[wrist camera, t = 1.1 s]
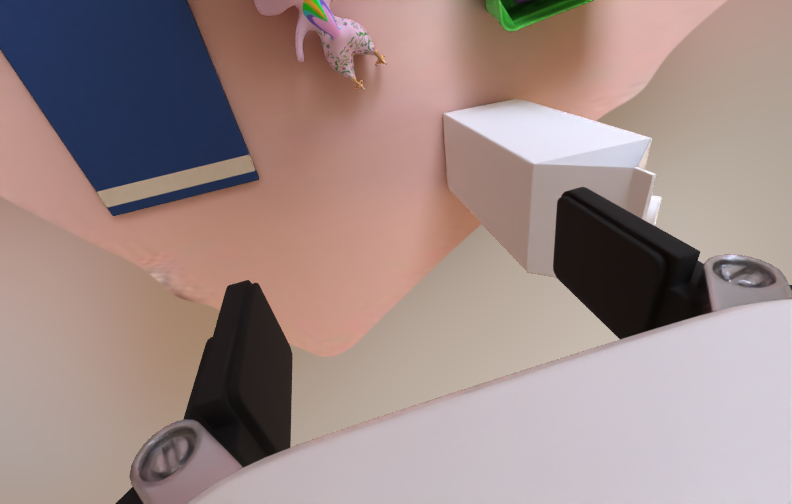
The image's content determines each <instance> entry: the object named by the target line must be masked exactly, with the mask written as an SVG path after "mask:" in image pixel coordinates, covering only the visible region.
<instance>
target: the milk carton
mask: <svg viewBox="0 0 792 504" xmlns="http://www.w3.org/2000/svg"><path fill="white" fill-rule="evenodd" d="M443 125H444V140H445V155H446V170H447V184H448V189H449V190H450V191H451V192H452V193H453V194H454V195H455V196H456V197H457V198H458V199H459V200H460V201H461V202H462V203H463V205H464V206H465V207H466V208H467V209H468V210H469V211H470V212H471V213H472V214H473V215H474V216H475V217H476V218H477V219H478V220H479V221H480V222H481V224H482V225H483V226H484V227H485V228H486V229H487V230H488V231H489V232H490V233H491V234H492V235H493V236H494V237H495V238H496V239H497V240H498V242H499V243H500V244H501V245H502V246H503V247H504V248H505V249H506V250H507V251H508V252H509V253H510V254H511V255H512V256H513V257H514V258H515V259H516V261H518V262H519V264H520V265H521V266H522V267H523V268H524V269H525V270H526V271H527V272H528V273H533V274H539V275H545V276H550V277H556V276H555V274H554V271H553V259H554V243H555V228H556V212H557V201H558V199H559V198H561V196H562V194H563V193H564V192H565V191H569V190H572V189H576V188H579V187H586V188H588V189H589V190H591V191H593V192H595V193H596V194H598V195H600V196H602V197H604V198H605V199H607V200H609V201H611V202H613V203H614V204H616V205H618V206H620V207H621V208H623V209H625V210H627V211H629V212H630V213H632V214H634V215H636V216H638V217H639V218H641V219H643V220H645V221H647V222H648V223H650V224H652V225H654V226H655V223H656V220H657V216H658V213H659V210H660V206H661V202H662V198H661V197H658V196H652V192H653V188H654V184H655V180H656V175H655V174H654V173H652V172H649V171H647V170H645V167H646V162H647V157H648V154H649V149H650V145H651V140H652V138H649V137H646V136H643V135H639V134H636V133H633V132H630V131H626V130H623V129H619V128H616V127H613V126H610V125H606V124H603V123H599V122H596V121H593V120H590V119H586V118H583V117H579V116H576V115H573V114H569V113H566V112H563V111H559V110H556V109H553V108H549V107H546V106H543V105H539V104H536V103H533V102H529V101H526V100H523V99H519V98H518V99H512V100H507V101H502V102H497V103H492V104H487V105H482V106H477V107H472V108H467V109H462V110H457V111H452V112H447V113H444V114H443ZM556 278H557V277H556Z"/></svg>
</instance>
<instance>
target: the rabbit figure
mask: <svg viewBox="0 0 792 504" xmlns="http://www.w3.org/2000/svg"><path fill="white" fill-rule="evenodd" d="M253 1H254V3H255V6H256V8H257V10H258V11H259V12H260V13H261V14H263V15H267V16H271V15H278V14H281V13H282V12H284V11H285V10H286V9H288V8H289V7H291V6H293V5H295V6H296V7H297V8H298V10H299V19H298V22H297V26H296V34H295V50H296V58H297V60H298V62H303V61H304V59H305V56H304V52H303V41H304V37H305V35H306V33H307V32H309V31H315V32H316V33H317V34H318V35H319V36H320V38H321V42H322V47H323V51H324V54H325V57H326V60H327V62H328V64H329V65H330V66H331V67H332V68H333V69H334V70H335V71H336V72H337V73H338V74H340V75H342V76H345V77H347V78H349V79H351V80H353V81H354V82H355V83H356V84H357V86H356V87H355V89H356V90H357V89H363V90H364V88H363V82H362V81H364V80H363V79H362V80H361V81H360V82H358V81H357V80H356V77H355V72H354V61H353V56H354V55H355V54H371V55H376V56H377V57H378V61H377V63H376V64H375V65H376V66H377V64H386V62H385V61H384V57H385V56H384V55H382V56H380V55H379V53H378V51H377V50H376V48H375V46H374V44H373V42H372V40H371V38H370V36H369V34H368V33H367V31H366V30H365V29H364V28H363V27H362V26H361V25H360V24H359V23H357V22H355V21H353V20H350V19H346V18H339V17H336V16H334V15H333V14H332V13H331V10H330V3H331V1H332V0H253ZM386 65H387V64H386Z"/></svg>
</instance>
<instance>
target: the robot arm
mask: <svg viewBox="0 0 792 504" xmlns="http://www.w3.org/2000/svg"><path fill="white" fill-rule="evenodd" d="M699 254H700V251H698V250H696V249H695V248H693V247H691V246H689V245H688V244H686V243H684V242H682V241H680V240H679V239H677V238H675V237H673V236H671V235H670V234H668V233H666V232H664V231H662V230H660V229H659V228H657V227H655V226H654V225H652V224H650V223H648V222H647V221H645V220H643V219H641V218H639V217H638V216H636V215H634V214H632V213H630V212H629V211H627V210H625V209H623V208H621V207H620V206H618V205H616V204H614V203H613V202H611V201H609V200H607V199H605V198H604V197H602V196H600V195H598V194H596V193H595V192H593V191H591V190H589V189H588V188H586V187H579V188H576V189H572V190H569V191H565V192H564V193H563V194H562V196H561V198H559V199H558V201H557V212H556V228H555V243H554V259H553V271H554V274H555V276H556V277H557V278H558V279H559V280H560V281H561V282H562V283H563V284H564V285H565V286H566V287H567V288H568V289H569V290H570V291H571V292H572V293H573V294H574V295H575V296H576V297H577V298H578V299H579V300H580V301H581V302H582V303H583V304H584V305H585V306H586V307H587V308H588V309H589V310H590V311H591V312H593V313H594V314H595V315H596V316H597V317H598V318H599V319H600V320H601V321H602V322H603V323H604V324H605V325H606V326H607V327H608V328H609V329H610V330H611V331H612V332H613V333H614V334H615V335H616V336H617V337H618V338H619V339H620V340H617V341H614V342H611V343H608V344H605V345H602V346H598V347H595V348H593V349H589V350H586V351H582V352H579V353H576V354H573V355H570V356H567V357H564V358H560V359H557V360H554V361H551V362H548V363H545V364H541V365H539V366H535V367H532V368H529V369H526V370H523V371H520V372H516V373H513V374H510V375H507V376H505V377H501V378H498V379H495V380H492V381H489V382H485V383H482V384H479V385H476V386H473V387H470V388H467V389H464V390H460V391H457V392H454V393H451V394H448V395H445V396H442V397H439V398H436V399H433V400H430V401H427V402H424V403H421V404H418V405H414V406H412V407H409V408H406V409H402V410H399V411H396V412H393V413H390V414H387V415H384V416H381V417H378V418H375V419H372V420H369V421H366V422H363V423H360V424H357V425H354V426H351V427H348V428H345V429H342V430H339V431H336V432H333V433H331V434H327V435H325V436H322V437H319V438H316V439H313V440H311V441H307V442H304V443H301V444H298V445H296V446H293V447H291V448H290V436H291V394H292V393H291V392H292V352H291V348H290V345H289V343H288V341H287V339H286V337H285V335H284V333H283V331H282V329H281V327H280V325H279V323H278V321H277V319H276V317H275V315H274V313H273V311H272V310H271V308H270V306H269V304H268V302H267V300H266V298H265V296H264V294H263V292H262V290H261V288H260V286H259V284H258V283H254V284H252V283H251V282H250V281H249V280H246V281H243V282H239V283H236V284H232V285H229V286H227V289H226V292H225V296H224V299H223V303H222V306H221V310H220V313H219V317H218V320H217V325H216V328H215V331H214V335H213V337H211V338H210V339H208V341H207V343H206V345H205V349H204V352H203V355H202V359H201V362H200V366H199V369H198V373H197V376H196V379H195V382H194V386H193V389H192V392H191V396H190V399H189V403H188V406H187V409H186V413H185V416H184V419H183V420H181V421H177V422H174V423H172V424H170V425H168V426H166V427H164V428H163V429H161V430H160V431H158V432H157V433H156V434H154V435H153V436H152V437H151V438H150V439H149V440H148V441H147V442H146V443H145V444H144V445H143V447H142V448H141V450H140V451H139V452H138V454H137V455H136V457H135V459H134V461H133V463H132V466H131V471H130V480H131V484H132V486H133V487H132V488H131V489H130V490H129V491H128V492H127V493H126V494H125V495H124V496H123V497H122V498H121V499H120V500H119V501H118V502H117V503H116V504H792V285H789V284H788V282H787V280H786V278H785V276H784V275H783V273H782V272H781V271H780V270H779V269H777V268H776V267H774V266H773V265H771V264H769V263H767V262H764V261H762V260H759V259H755V258H752V257H748V256H742V255H728V254H726V255H718V256H714V257H712V258H709V259H708V260H707V261H706V262H705V263H704V264H702V263H701V262H699V261H698V257H699Z"/></svg>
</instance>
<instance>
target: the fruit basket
mask: <svg viewBox="0 0 792 504" xmlns="http://www.w3.org/2000/svg"><path fill="white" fill-rule="evenodd" d="M591 1H593V0H486V3H485V4H486V10H487V11H488V12H489V13H490V14H492V15H493V16H494V17H495V18H496V19H498V21H499V23H500V24H501V26H502V27H503V28H504V29H505V30H506V31H510V32H513V31H517V30H519V29H522V28H524V27H526V26H529V25H531V24H534V23H536V22H539V21H542V20H544V19H546V18H549V17H551V16H554V15H557V14H559V13H562V12H564V11H567V10H570V9H573V8H575V7H578V6H580V5H583V4H586V3H588V2H591Z"/></svg>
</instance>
